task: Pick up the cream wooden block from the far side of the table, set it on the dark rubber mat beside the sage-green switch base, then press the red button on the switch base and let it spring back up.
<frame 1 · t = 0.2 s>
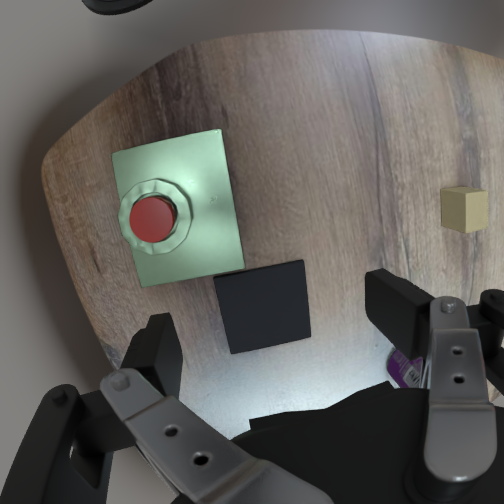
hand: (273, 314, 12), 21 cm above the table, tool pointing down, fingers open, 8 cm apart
switch: (152, 218, 26), point 4 cm above the table, slide at 0.1 cm
beverage can: (404, 355, 40), on the table
mat: (265, 308, 35), on the table
block: (453, 205, 34), on the table
switch base: (179, 207, 30), on the table
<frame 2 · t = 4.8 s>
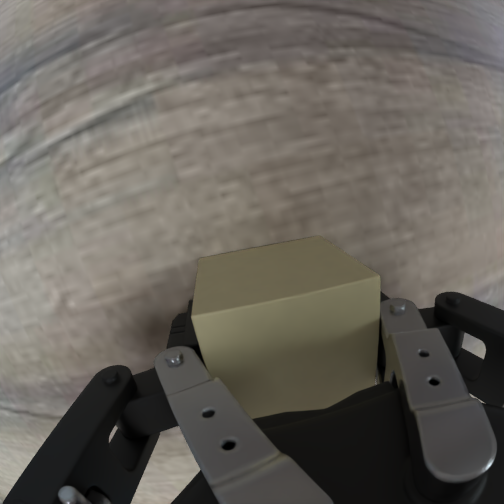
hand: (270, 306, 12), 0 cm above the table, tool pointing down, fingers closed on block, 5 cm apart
block: (269, 302, 13), on the table, touching gripper
when the fingers open (1 cm above the table, at t = 12.5 s): block stays where it is, resting on mat.
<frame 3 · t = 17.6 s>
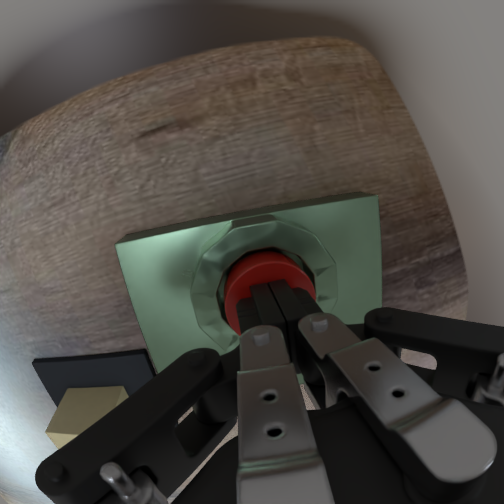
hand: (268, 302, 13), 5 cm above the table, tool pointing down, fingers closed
switch: (268, 298, 14), point 4 cm above the table, slide at -0.2 cm, touching gripper
mat: (109, 406, 19), on the table
block: (107, 411, 19), point 1 cm above the table, touching mat
switch base: (261, 300, 18), on the table
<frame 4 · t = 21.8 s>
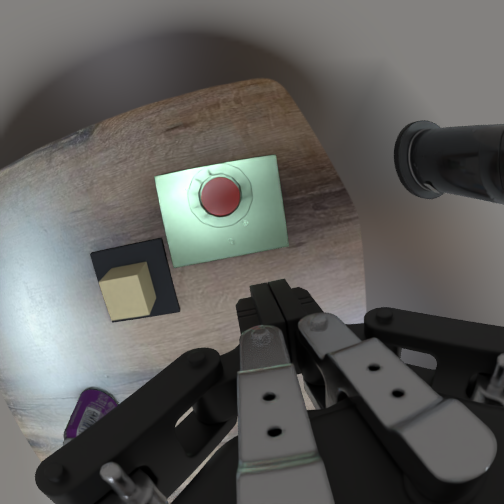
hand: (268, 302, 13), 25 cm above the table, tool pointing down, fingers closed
switch: (220, 195, 31), point 4 cm above the table, slide at 0.1 cm
beverage can: (100, 401, 42), on the table
mat: (135, 282, 37), on the table
block: (133, 283, 37), point 1 cm above the table, touching mat
switch base: (222, 209, 36), on the table
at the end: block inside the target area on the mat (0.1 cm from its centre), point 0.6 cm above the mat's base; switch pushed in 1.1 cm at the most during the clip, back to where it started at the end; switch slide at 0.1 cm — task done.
